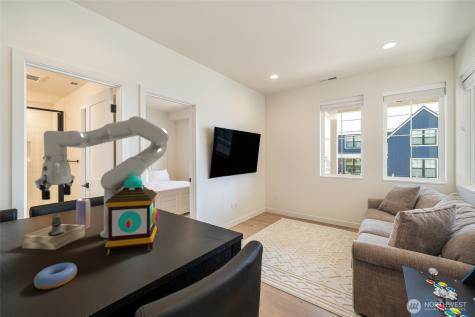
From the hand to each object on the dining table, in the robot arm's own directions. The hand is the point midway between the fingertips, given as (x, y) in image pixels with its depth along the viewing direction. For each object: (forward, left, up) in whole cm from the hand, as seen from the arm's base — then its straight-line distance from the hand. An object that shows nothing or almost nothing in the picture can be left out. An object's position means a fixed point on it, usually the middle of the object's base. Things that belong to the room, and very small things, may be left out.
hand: (57, 197), depth 90 cm
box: (0, 0, -20) cm, 20 cm away
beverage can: (+2, -17, -20) cm, 26 cm away
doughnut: (-27, +26, -20) cm, 43 cm away
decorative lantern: (-36, 0, -20) cm, 41 cm away
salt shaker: (0, 0, -19) cm, 19 cm away
